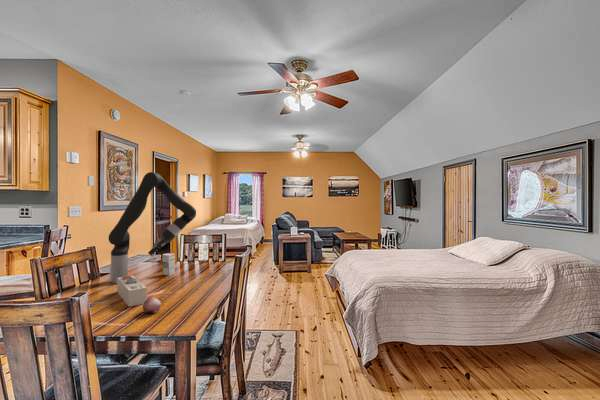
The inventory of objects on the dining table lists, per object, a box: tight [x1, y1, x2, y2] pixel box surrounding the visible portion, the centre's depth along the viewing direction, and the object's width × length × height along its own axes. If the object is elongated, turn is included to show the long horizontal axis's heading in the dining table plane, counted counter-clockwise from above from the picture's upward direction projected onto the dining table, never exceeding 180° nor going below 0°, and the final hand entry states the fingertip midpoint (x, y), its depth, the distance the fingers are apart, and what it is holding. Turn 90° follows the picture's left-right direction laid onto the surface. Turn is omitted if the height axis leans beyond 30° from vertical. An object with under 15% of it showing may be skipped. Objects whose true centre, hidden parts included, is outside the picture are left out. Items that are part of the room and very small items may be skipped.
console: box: [116, 275, 148, 307], centre depth 162 cm, size 30×8×8 cm, turn 41°
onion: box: [142, 296, 162, 314], centre depth 141 cm, size 8×8×7 cm
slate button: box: [127, 279, 135, 284], centre depth 162 cm, size 4×4×2 cm
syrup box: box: [162, 252, 176, 277], centre depth 209 cm, size 6×6×14 cm
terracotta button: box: [123, 274, 132, 280], centre depth 170 cm, size 4×4×2 cm
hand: (149, 254), depth 177 cm, fingers closed
